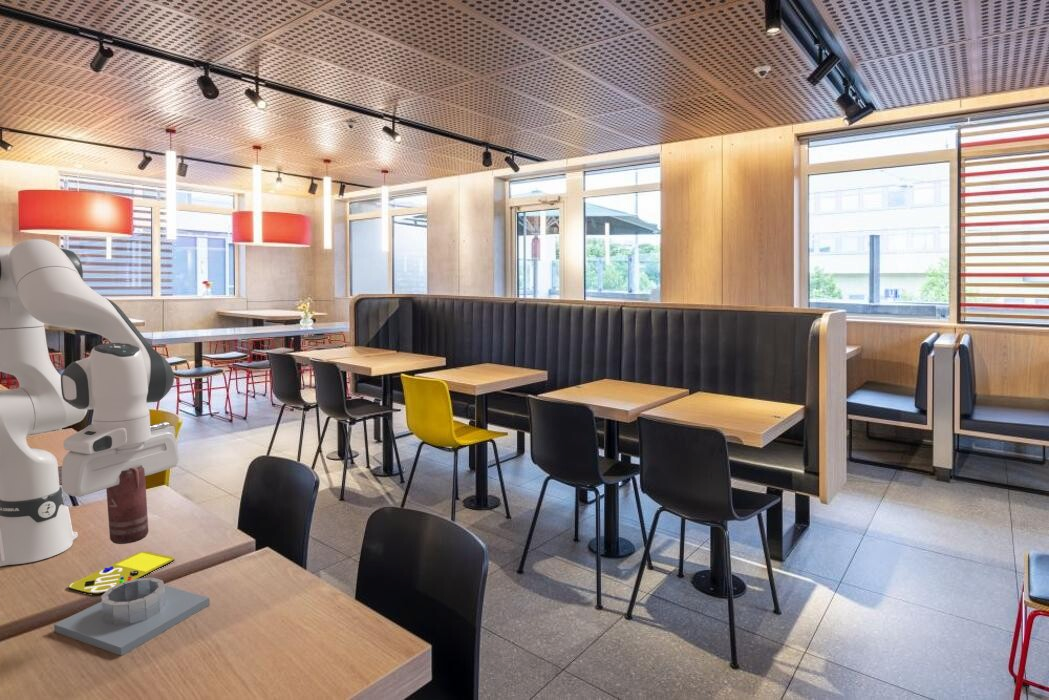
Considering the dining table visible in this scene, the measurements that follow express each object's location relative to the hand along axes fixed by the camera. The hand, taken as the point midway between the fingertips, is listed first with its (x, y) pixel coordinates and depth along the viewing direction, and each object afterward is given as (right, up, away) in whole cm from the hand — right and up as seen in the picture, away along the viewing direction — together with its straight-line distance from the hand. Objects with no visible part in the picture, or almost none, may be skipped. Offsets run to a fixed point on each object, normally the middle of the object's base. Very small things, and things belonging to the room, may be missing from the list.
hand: (127, 503), depth 115 cm
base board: (0, -23, +3) cm, 23 cm away
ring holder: (0, -21, +3) cm, 21 cm away
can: (0, -7, +1) cm, 7 cm away
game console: (-14, -21, +20) cm, 32 cm away
